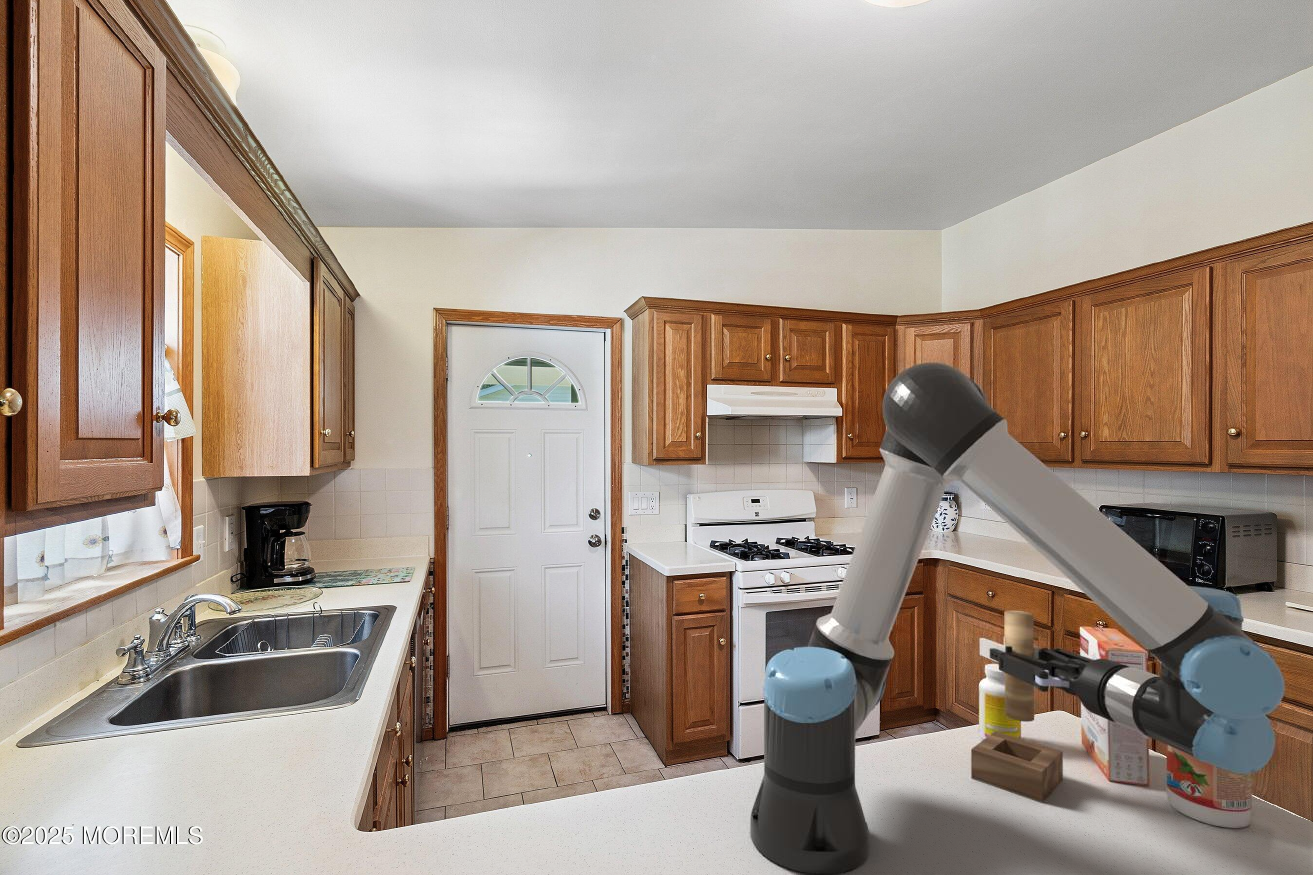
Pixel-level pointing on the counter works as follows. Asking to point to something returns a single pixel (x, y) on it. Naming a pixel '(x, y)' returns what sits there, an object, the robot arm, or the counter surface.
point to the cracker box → (1103, 739)
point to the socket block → (1017, 766)
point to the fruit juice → (1208, 791)
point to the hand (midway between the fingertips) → (993, 645)
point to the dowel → (1022, 642)
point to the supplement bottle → (995, 705)
